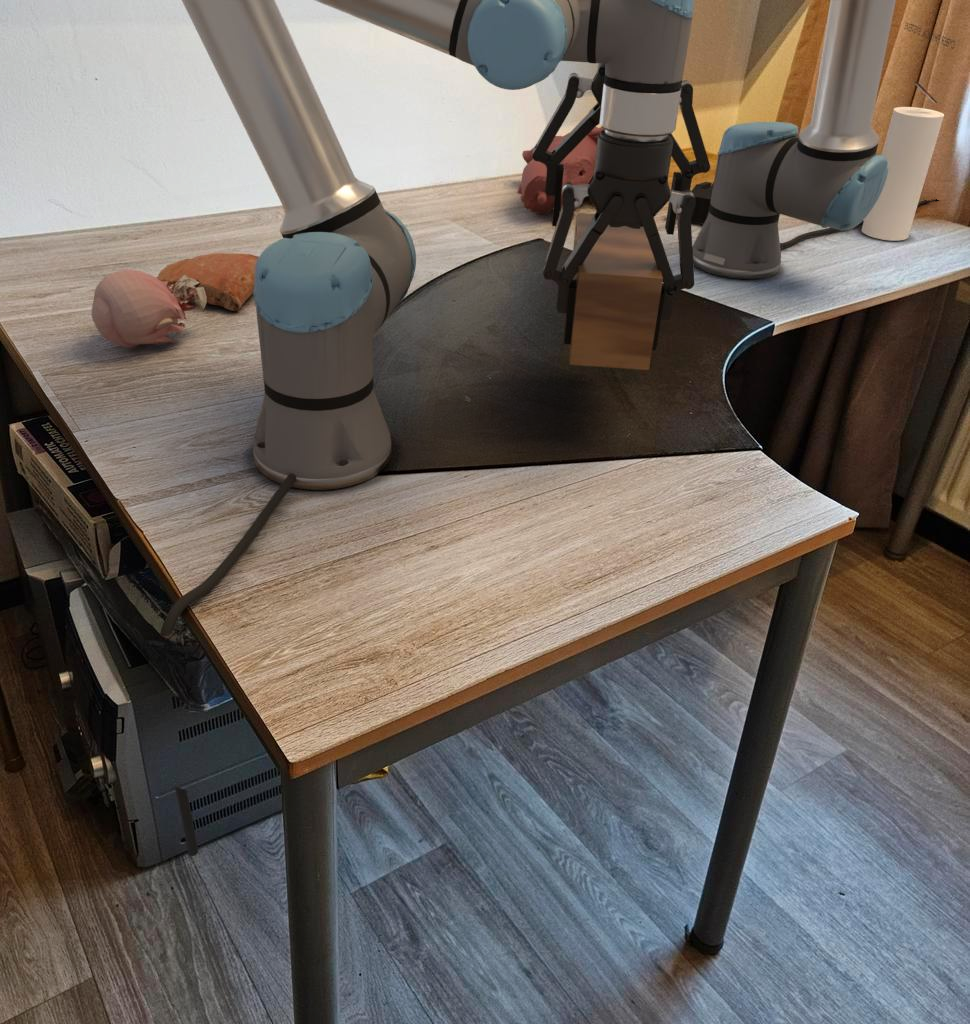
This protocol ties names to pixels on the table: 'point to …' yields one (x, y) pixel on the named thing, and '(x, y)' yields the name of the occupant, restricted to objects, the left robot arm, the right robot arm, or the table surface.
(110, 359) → the table surface
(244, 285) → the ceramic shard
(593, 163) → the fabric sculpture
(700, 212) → the toy
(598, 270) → the box
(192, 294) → the shallot
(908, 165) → the white tall cylinder
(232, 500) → the table surface
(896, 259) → the table surface
